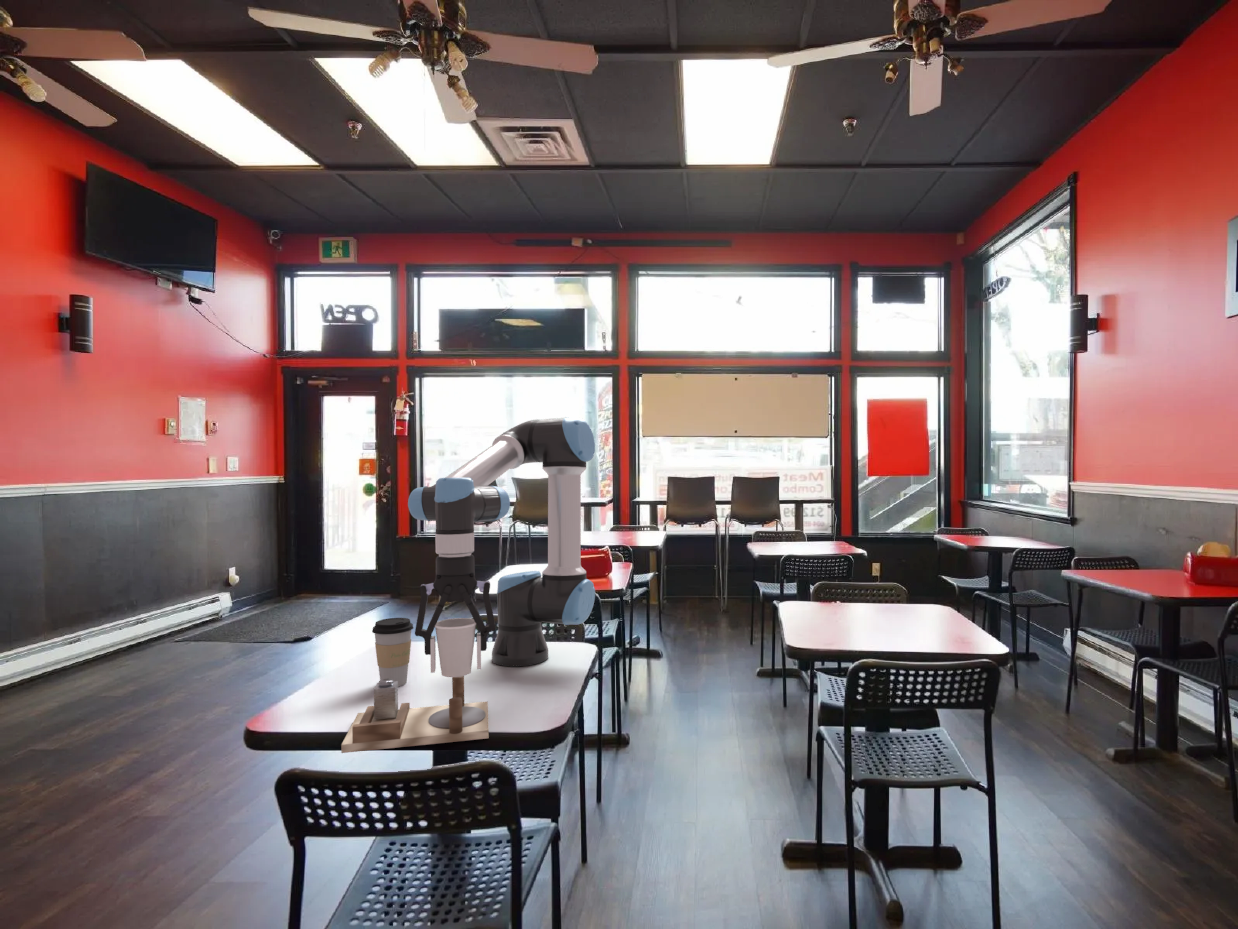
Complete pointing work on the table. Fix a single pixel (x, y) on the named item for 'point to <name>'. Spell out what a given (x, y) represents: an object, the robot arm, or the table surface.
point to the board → (420, 724)
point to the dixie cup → (455, 645)
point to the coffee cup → (393, 648)
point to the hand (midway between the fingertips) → (456, 668)
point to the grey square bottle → (386, 699)
